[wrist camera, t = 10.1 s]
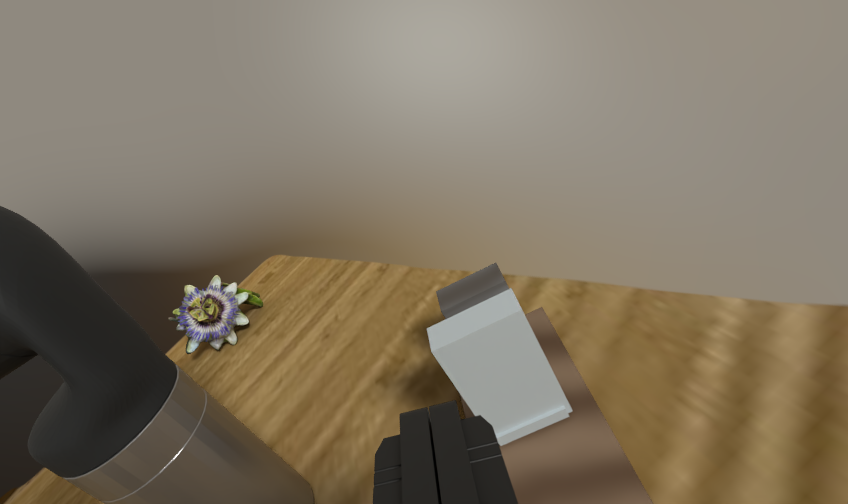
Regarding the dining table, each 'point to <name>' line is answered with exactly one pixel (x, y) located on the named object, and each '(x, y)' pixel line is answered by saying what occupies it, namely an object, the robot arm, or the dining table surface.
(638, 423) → the dining table surface
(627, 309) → the dining table surface
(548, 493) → the board
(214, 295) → the passion flower
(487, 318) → the panel
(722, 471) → the dining table surface
